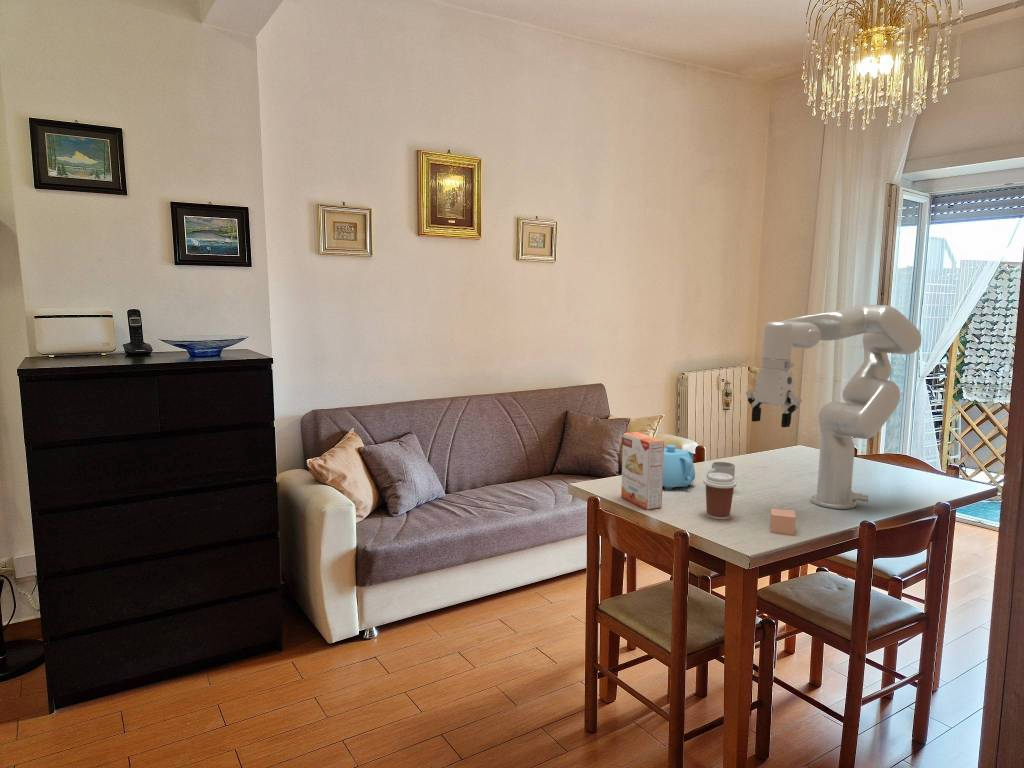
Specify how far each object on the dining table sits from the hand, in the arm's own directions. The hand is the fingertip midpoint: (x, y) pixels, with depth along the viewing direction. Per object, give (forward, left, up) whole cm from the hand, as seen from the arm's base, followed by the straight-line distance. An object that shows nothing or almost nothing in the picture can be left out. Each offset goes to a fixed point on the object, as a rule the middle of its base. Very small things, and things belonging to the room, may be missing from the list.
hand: (770, 424), depth 192 cm
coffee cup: (+13, +8, -27) cm, 31 cm away
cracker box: (+36, +4, -27) cm, 45 cm away
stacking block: (-4, +14, -27) cm, 30 cm away
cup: (+14, -18, -27) cm, 35 cm away
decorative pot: (+30, -20, -27) cm, 45 cm away
